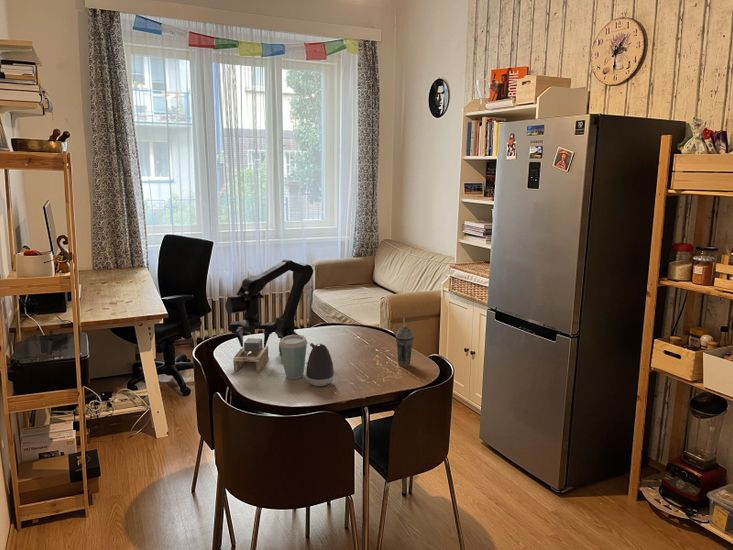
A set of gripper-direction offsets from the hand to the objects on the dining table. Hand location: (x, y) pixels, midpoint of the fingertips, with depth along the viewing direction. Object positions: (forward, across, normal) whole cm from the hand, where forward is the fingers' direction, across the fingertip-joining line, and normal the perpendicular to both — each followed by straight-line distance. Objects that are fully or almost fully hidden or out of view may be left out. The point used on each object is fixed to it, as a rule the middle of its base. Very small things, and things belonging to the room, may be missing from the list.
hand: (253, 347), depth 233 cm
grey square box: (+5, 0, 0) cm, 5 cm away
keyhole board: (+6, 0, -4) cm, 7 cm away
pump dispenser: (+6, +30, -22) cm, 37 cm away
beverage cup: (+6, +61, 0) cm, 61 cm away
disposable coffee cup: (+6, +19, -14) cm, 25 cm away
